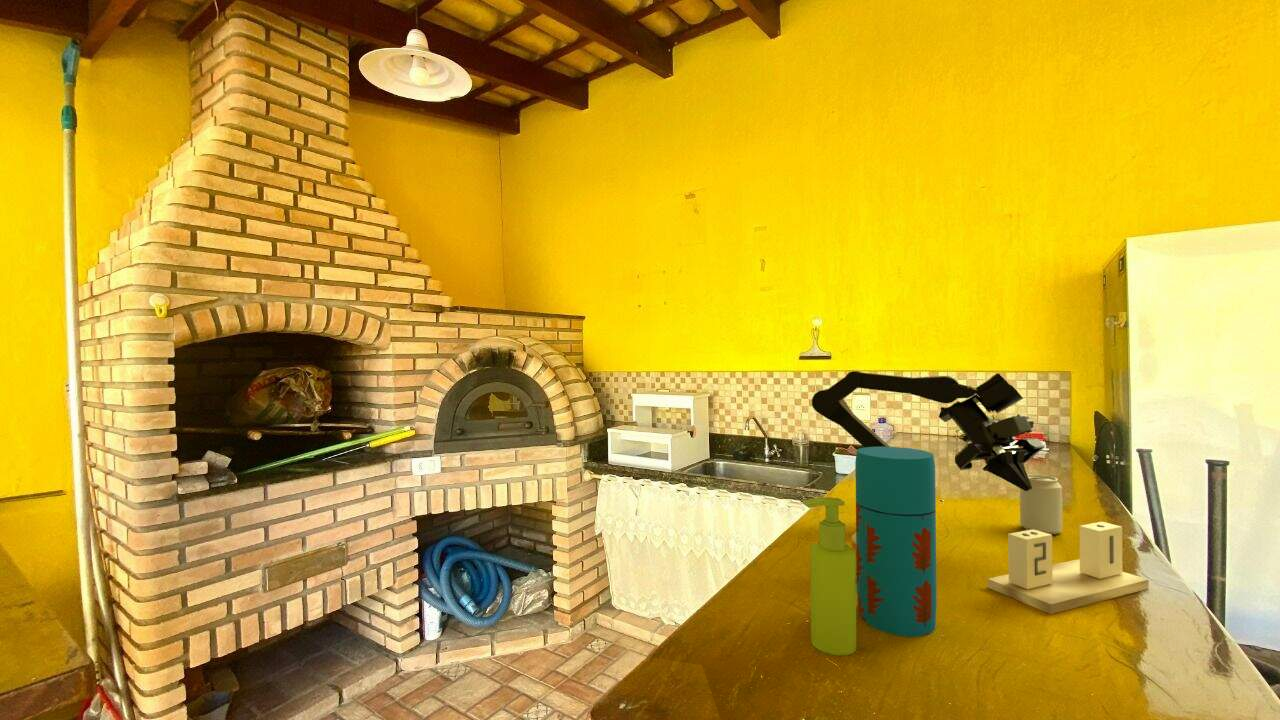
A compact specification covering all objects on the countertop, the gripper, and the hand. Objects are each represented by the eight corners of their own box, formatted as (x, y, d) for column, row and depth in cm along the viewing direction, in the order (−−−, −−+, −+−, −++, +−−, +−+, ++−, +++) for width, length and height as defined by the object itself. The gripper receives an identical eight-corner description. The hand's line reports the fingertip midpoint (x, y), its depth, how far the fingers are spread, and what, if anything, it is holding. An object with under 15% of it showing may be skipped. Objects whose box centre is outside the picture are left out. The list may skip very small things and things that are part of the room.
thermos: (929, 607, 83) (928, 448, 83) (944, 642, 73) (942, 461, 73) (855, 598, 87) (853, 445, 87) (859, 630, 77) (857, 457, 76)
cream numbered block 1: (1079, 572, 92) (1079, 525, 91) (1102, 566, 94) (1101, 521, 93) (1101, 579, 88) (1100, 530, 88) (1123, 573, 91) (1123, 526, 90)
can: (1047, 525, 122) (1047, 472, 122) (1070, 536, 114) (1070, 480, 114) (1012, 524, 122) (1012, 472, 122) (1033, 535, 115) (1033, 480, 115)
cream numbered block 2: (1008, 581, 88) (1008, 533, 88) (1033, 576, 90) (1033, 528, 90) (1028, 589, 85) (1027, 539, 85) (1053, 583, 87) (1053, 534, 87)
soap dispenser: (797, 634, 76) (795, 494, 76) (844, 631, 76) (842, 492, 76) (814, 657, 70) (812, 505, 70) (864, 654, 70) (863, 503, 70)
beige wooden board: (987, 587, 90) (987, 578, 90) (1081, 566, 98) (1081, 558, 98) (1050, 614, 80) (1050, 604, 80) (1148, 588, 89) (1148, 579, 89)
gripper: (967, 402, 104) (1024, 470, 94) (1034, 399, 110) (1095, 462, 100) (933, 436, 111) (982, 503, 101) (998, 431, 117) (1051, 493, 107)
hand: (1029, 489), depth 102 cm, fingers closed
